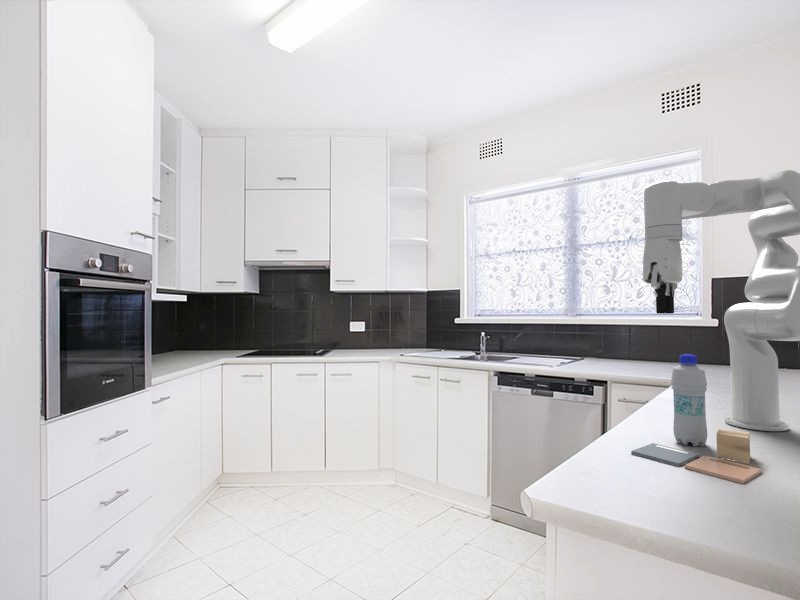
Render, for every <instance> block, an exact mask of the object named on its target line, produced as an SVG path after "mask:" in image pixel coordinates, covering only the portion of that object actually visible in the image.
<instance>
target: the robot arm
mask: <svg viewBox="0 0 800 600" xmlns="http://www.w3.org/2000/svg"><path fill="white" fill-rule="evenodd" d="M643 191H644V192H643V203H644V204H643V207H644V208H643V209H644V211H643V213H644V243H645V244H644V248H643V259H642V260H643V262H642V279H643V283H644V282H645V283H646V284H650V287H651V288H652V289H654V295H655V310H656V314H674V313H675V290H676V289H678V284H679V283H681V282H682V281H683V258H682V248H681V247H682V246H681V242H682V241H683V220H690V219H691V220H692V219H697V218H700V219H701V218H711V217H719V216H723V215H724V216H726V215H734V214H741V213H743V214H744V213H753V212H754V213H753V214H752V215H751V216H750V218H749V220H748V222H747V223H748V224H747V225H748V226H747V227H748V231H749V235H750V236H751V239H752V241H753V244H754V247H755V249H756V253H757V255H756V258H755V262H754V264H753V266H752V268H751V271H750V273H749V275H748V278H747V281H746V283H745V286H744V291H743V292H744V296H745V298H746V299H747V300H748V301H750V302H740V303H736V304H734V305H732V306H730V307H729V308H727V310H726V311H725V313H724V315H723V322H724V327H725V332H726V335H727V340H728V344H729V345H728V346H729V357H730V358H729V363H730V364H729V367H730V368H729V369H730V394H731V395H730V396H731V397H730V398H731V401H730V402H731V414H729V415H726V416H724V422H725V423H727V424H729V425H731V426H733V427H734V426H735V427H737V428H742V429H743V428H744V429H748V430H753V431H763V432H785V431H788V430H789V424H788V423H787V422H785V421H782V420H781V417H780V415H781V414H780V410H781V409H780V386H779V384H780V383H779V381H780V380H779V359H778V355H777V353H776V351H775V350H774V348H773V347H772V346H771V344H770V343H769V342H768V341H781V342H782V341H783V342H800V265H798V263H799V254H798V253H797V251H796V250H795V249H794V248H793V247H792V246H791V245H790V244H789V243H787V242H786V241H785V240H784V239H783V238H786V237H792V236H794V237H795V236H800V173H799V172H797V171H795V170H791V169H788V170H783V171H779V172H775V173H774V172H773V173H771V174H767V175H764V176H760V177H756V178H755V177H754V178H744V179H731V180H730V179H728V180H721V181H717V182H713V183H709V184H708V183H705V182H701V181H695V182H694V181H693V182H677V181H673V180H663V181H657V182H653V183H651V184H649V185H647V186H646V187H645V189H644V190H643Z"/></svg>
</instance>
